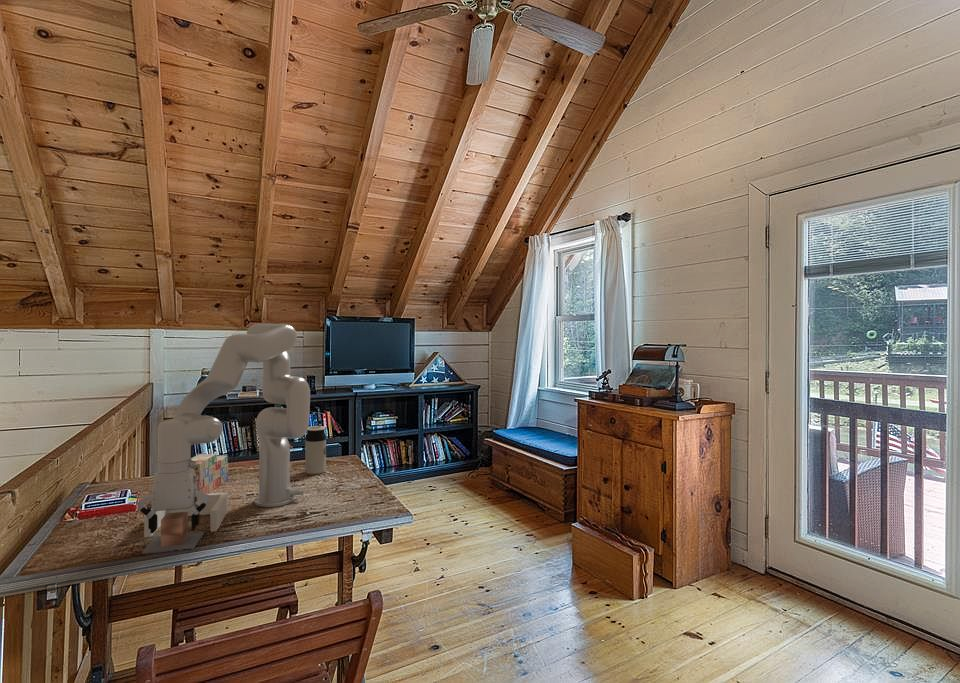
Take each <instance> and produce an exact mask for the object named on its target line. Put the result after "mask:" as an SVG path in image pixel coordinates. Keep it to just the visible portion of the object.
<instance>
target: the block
mask: <svg viewBox="0 0 960 683" xmlns="http://www.w3.org/2000/svg"><path fill="white" fill-rule="evenodd" d="M188 533H189V516H188V512H177V513H167V514H166V515H165V516H164V517H163V519H162V520H161V526H160V536H161V546H172V545H182V544H183V543H184V541H185V540H186V539H187V537H188Z"/></svg>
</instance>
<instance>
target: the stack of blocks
mask: <svg viewBox="0 0 960 683" xmlns="http://www.w3.org/2000/svg"><path fill="white" fill-rule="evenodd" d="M191 460H192V461H197V465H196V466H193V467H191V468H193V469H194V471H195V475H196V482H197V491H200V492H203V493H205V494H209V493H211V490H212V491H213V490H214V489H215V487H216V488H217V487H218V485H219V486H220V485H221V484H223V483H225V482H226V481H227V479H228V480H229V455H217V453H199V454H197V455H195V456H193V457H191ZM208 492H209V493H208Z"/></svg>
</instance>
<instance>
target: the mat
mask: <svg viewBox="0 0 960 683" xmlns="http://www.w3.org/2000/svg"><path fill="white" fill-rule="evenodd" d="M204 534H205V531H199V532H197V531H196V532H188V537H187V539H186V540H185V541H184V543H183V544H182V545H172V546H161V535H156V536H154V537H153V538H152V539H151V541H150V542H149V543H148V544H147V546H146V547H145V548H144V549H143V550H142V552H141V555H148V554H156V553H157V554H158V553H168V551H169V552H175V551H174V550H179V551H183V550H182V549H190V550H193V549H192V548H195V549H196V547H197V546H196V545H198V544H199V542H200V540H202V537H203V536H204ZM195 546H196V547H195Z"/></svg>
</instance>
